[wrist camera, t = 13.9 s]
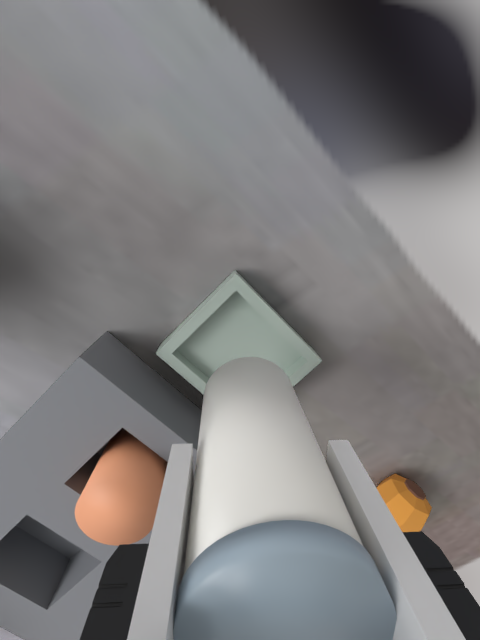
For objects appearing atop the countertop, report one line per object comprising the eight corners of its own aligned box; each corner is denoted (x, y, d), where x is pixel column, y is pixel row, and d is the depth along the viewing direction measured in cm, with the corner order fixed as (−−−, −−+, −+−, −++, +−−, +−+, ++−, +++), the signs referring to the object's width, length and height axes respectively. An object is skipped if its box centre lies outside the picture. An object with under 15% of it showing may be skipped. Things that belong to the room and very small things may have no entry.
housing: (-61, 506, 28) (-120, 564, 23) (107, 331, 24) (79, 356, 20) (90, 595, 32) (67, 662, 27) (254, 454, 28) (261, 501, 23)
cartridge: (202, 440, 19) (176, 719, 8) (200, 355, 17) (165, 558, 7) (292, 438, 19) (381, 704, 8) (297, 354, 17) (413, 547, 7)
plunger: (95, 450, 25) (57, 517, 19) (136, 411, 24) (110, 468, 19) (142, 485, 26) (121, 557, 21) (183, 448, 26) (172, 512, 20)
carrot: (388, 456, 30) (394, 488, 26) (434, 488, 29) (447, 526, 25) (276, 580, 36) (266, 622, 32) (311, 609, 35) (305, 656, 31)
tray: (160, 343, 25) (155, 353, 23) (235, 269, 24) (236, 273, 22) (242, 415, 27) (244, 429, 25) (314, 350, 26) (322, 360, 24)
